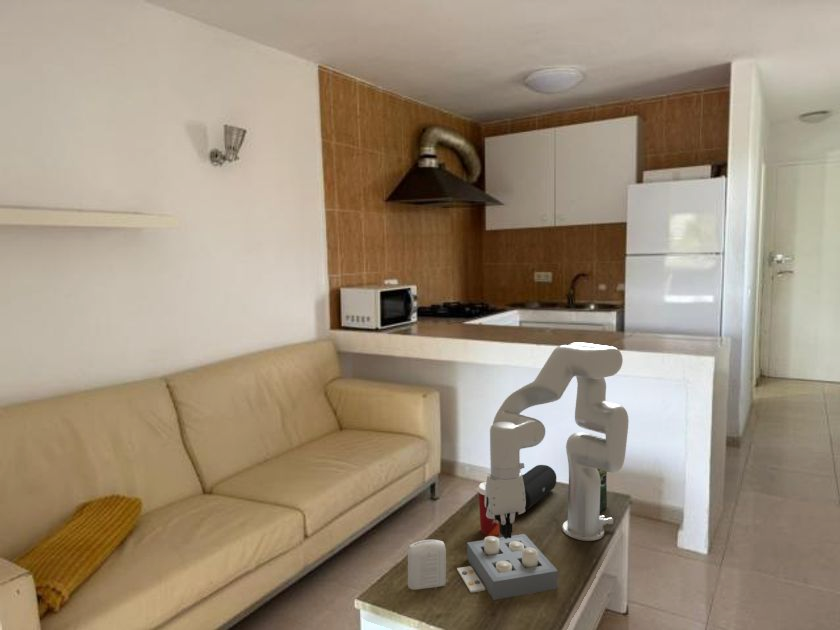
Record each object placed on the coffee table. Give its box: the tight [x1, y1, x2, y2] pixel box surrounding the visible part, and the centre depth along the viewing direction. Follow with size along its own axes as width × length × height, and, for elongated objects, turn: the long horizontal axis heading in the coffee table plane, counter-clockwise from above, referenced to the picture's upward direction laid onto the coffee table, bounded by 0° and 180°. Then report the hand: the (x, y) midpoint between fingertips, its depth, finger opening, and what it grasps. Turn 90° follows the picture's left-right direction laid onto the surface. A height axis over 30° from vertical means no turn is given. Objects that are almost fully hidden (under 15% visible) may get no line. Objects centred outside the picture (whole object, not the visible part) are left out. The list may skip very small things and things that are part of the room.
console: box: [466, 533, 559, 601], centre depth 156 cm, size 18×20×5 cm
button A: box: [509, 541, 524, 564], centre depth 161 cm, size 4×4×5 cm
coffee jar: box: [597, 469, 608, 512], centre depth 195 cm, size 10×8×19 cm
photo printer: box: [407, 539, 447, 591], centre depth 151 cm, size 10×4×12 cm, turn 103°
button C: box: [483, 536, 499, 556], centre depth 159 cm, size 4×4×5 cm
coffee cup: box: [477, 481, 500, 537], centre depth 179 cm, size 8×8×15 cm
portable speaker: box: [522, 464, 557, 512], centre depth 200 cm, size 26×10×10 cm, turn 143°
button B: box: [522, 548, 538, 569], centre depth 153 cm, size 4×4×5 cm
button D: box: [495, 561, 513, 573], centre depth 151 cm, size 4×4×5 cm
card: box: [457, 565, 486, 593], centre depth 154 cm, size 4×11×1 cm, turn 15°
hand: (506, 535), depth 151 cm, fingers closed
